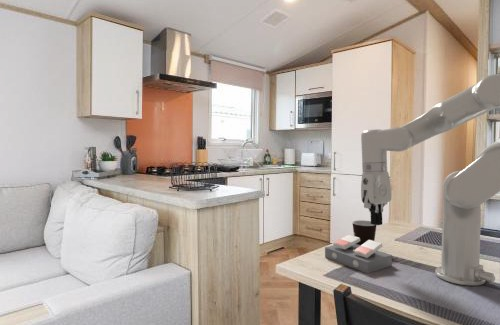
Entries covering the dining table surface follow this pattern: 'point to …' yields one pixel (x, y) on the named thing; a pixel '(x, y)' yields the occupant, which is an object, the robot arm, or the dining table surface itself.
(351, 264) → the rocker switch panel
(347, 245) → the rocker
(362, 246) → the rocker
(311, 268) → the dining table surface
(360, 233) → the coffee mug
